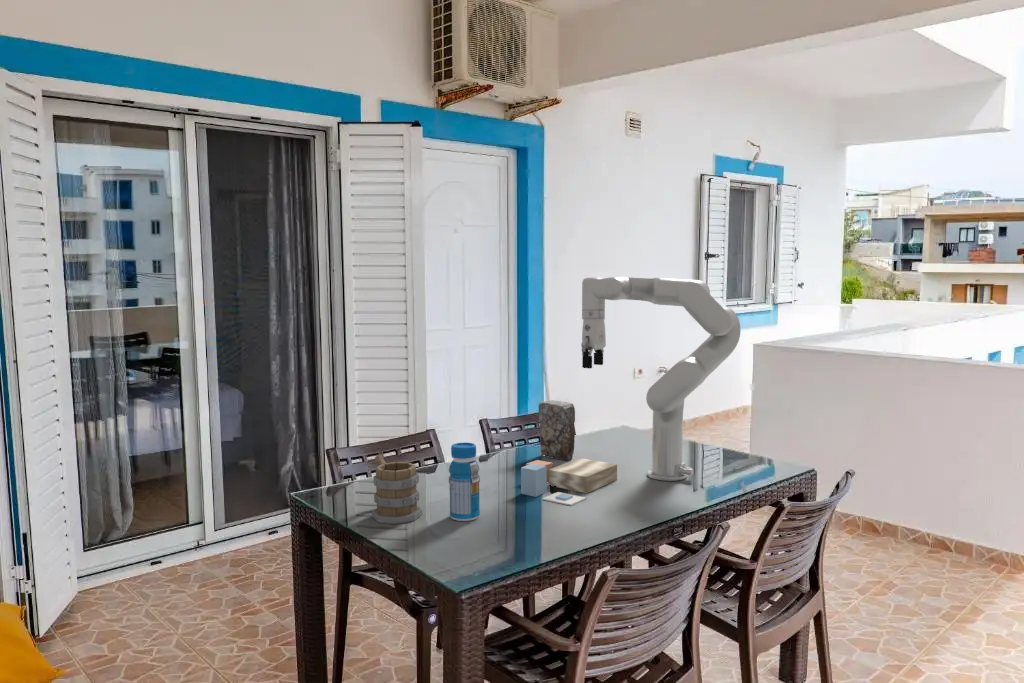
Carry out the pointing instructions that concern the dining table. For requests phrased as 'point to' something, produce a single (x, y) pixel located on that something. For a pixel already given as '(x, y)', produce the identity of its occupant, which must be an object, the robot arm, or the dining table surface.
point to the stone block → (557, 429)
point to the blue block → (533, 480)
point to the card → (564, 498)
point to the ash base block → (582, 475)
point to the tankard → (396, 492)
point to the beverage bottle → (464, 483)
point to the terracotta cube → (542, 463)
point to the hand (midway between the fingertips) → (592, 366)
